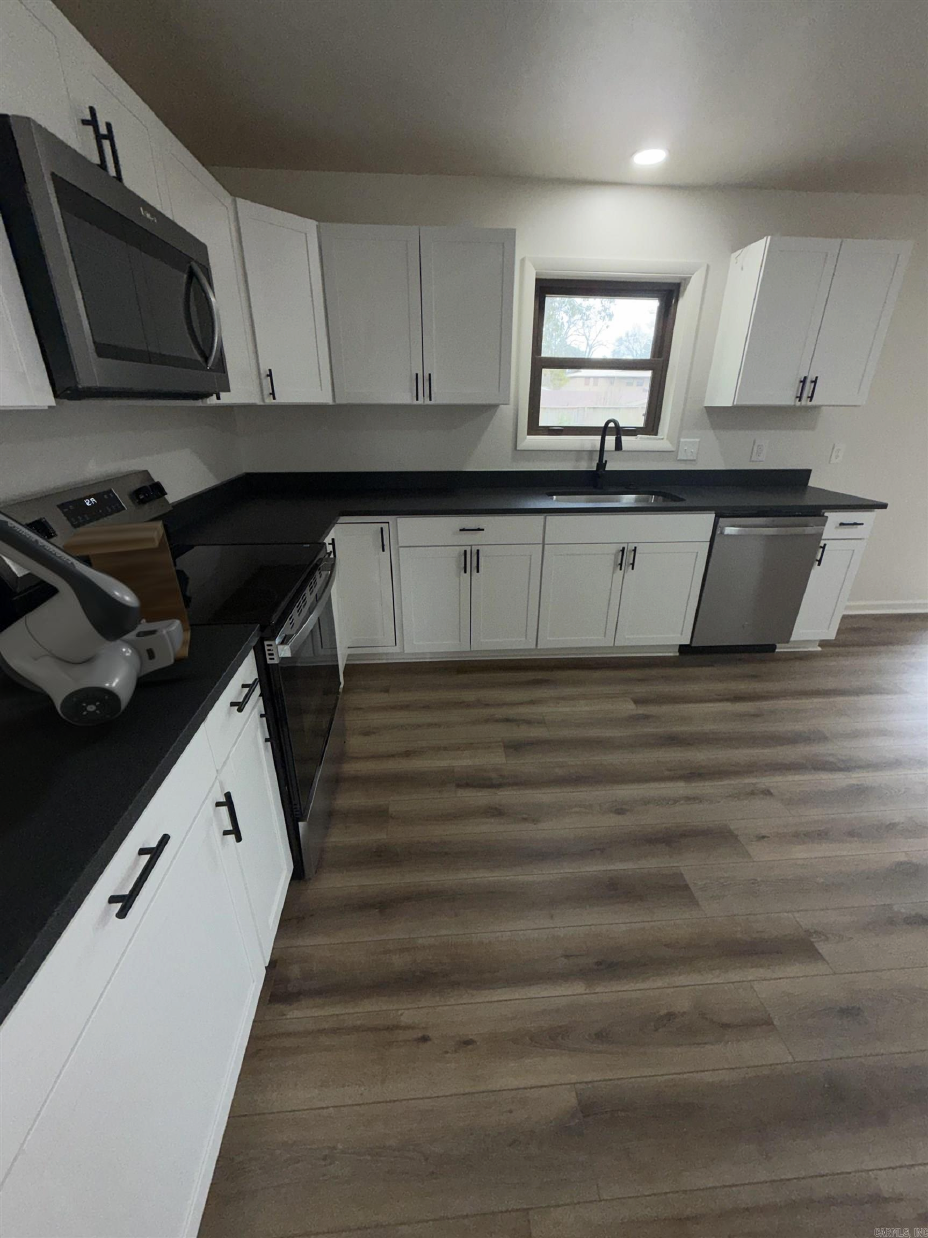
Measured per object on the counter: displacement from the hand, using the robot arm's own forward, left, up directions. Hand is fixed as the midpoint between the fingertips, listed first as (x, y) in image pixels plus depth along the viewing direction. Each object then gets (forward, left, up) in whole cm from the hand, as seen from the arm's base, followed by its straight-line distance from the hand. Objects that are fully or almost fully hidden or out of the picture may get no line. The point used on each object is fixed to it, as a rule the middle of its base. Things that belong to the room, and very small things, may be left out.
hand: (125, 625), depth 95 cm
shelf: (+1, +7, -11) cm, 13 cm away
